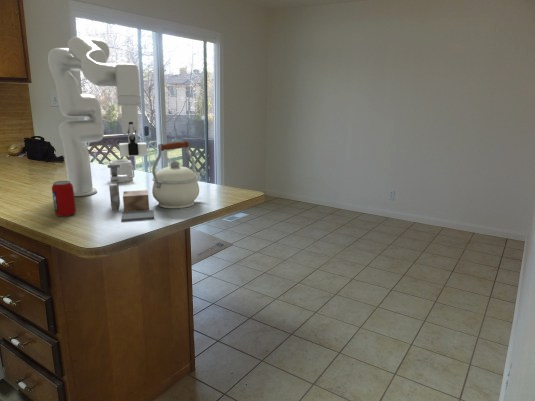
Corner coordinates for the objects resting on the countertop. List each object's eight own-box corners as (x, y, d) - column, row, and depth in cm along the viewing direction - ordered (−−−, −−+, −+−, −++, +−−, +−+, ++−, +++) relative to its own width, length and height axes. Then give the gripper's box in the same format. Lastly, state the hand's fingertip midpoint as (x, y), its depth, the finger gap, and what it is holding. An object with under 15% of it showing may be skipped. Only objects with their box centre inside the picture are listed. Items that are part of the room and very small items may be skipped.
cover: (120, 156, 132) (119, 144, 131) (120, 154, 138) (119, 143, 137) (147, 155, 135) (146, 144, 134) (146, 153, 141) (146, 142, 140)
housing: (111, 212, 142) (108, 186, 140) (113, 203, 155) (111, 179, 152) (149, 210, 146) (147, 184, 144) (148, 201, 159) (146, 177, 156)
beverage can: (60, 211, 143) (56, 180, 139) (79, 211, 143) (75, 180, 140) (52, 217, 136) (47, 184, 133) (71, 217, 137) (67, 184, 134)
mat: (121, 221, 133) (121, 219, 132) (122, 214, 141) (122, 212, 141) (154, 219, 136) (154, 216, 136) (153, 211, 144) (153, 209, 144)
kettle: (173, 214, 142) (169, 146, 135) (139, 206, 151) (134, 143, 144) (216, 200, 162) (215, 140, 156) (184, 194, 171) (182, 137, 165)
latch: (108, 180, 149) (107, 165, 147) (109, 179, 152) (107, 164, 150) (127, 179, 151) (125, 165, 149) (127, 178, 154) (126, 163, 152)
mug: (106, 181, 195) (104, 161, 192) (121, 177, 205) (119, 158, 202) (127, 183, 190) (125, 163, 188) (141, 179, 200) (140, 160, 197)
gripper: (118, 101, 139) (123, 151, 143) (116, 101, 123) (121, 157, 127) (140, 101, 141) (144, 150, 146) (141, 101, 125) (145, 156, 130)
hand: (133, 153), depth 136 cm, fingers closed on cover, 6 cm apart
